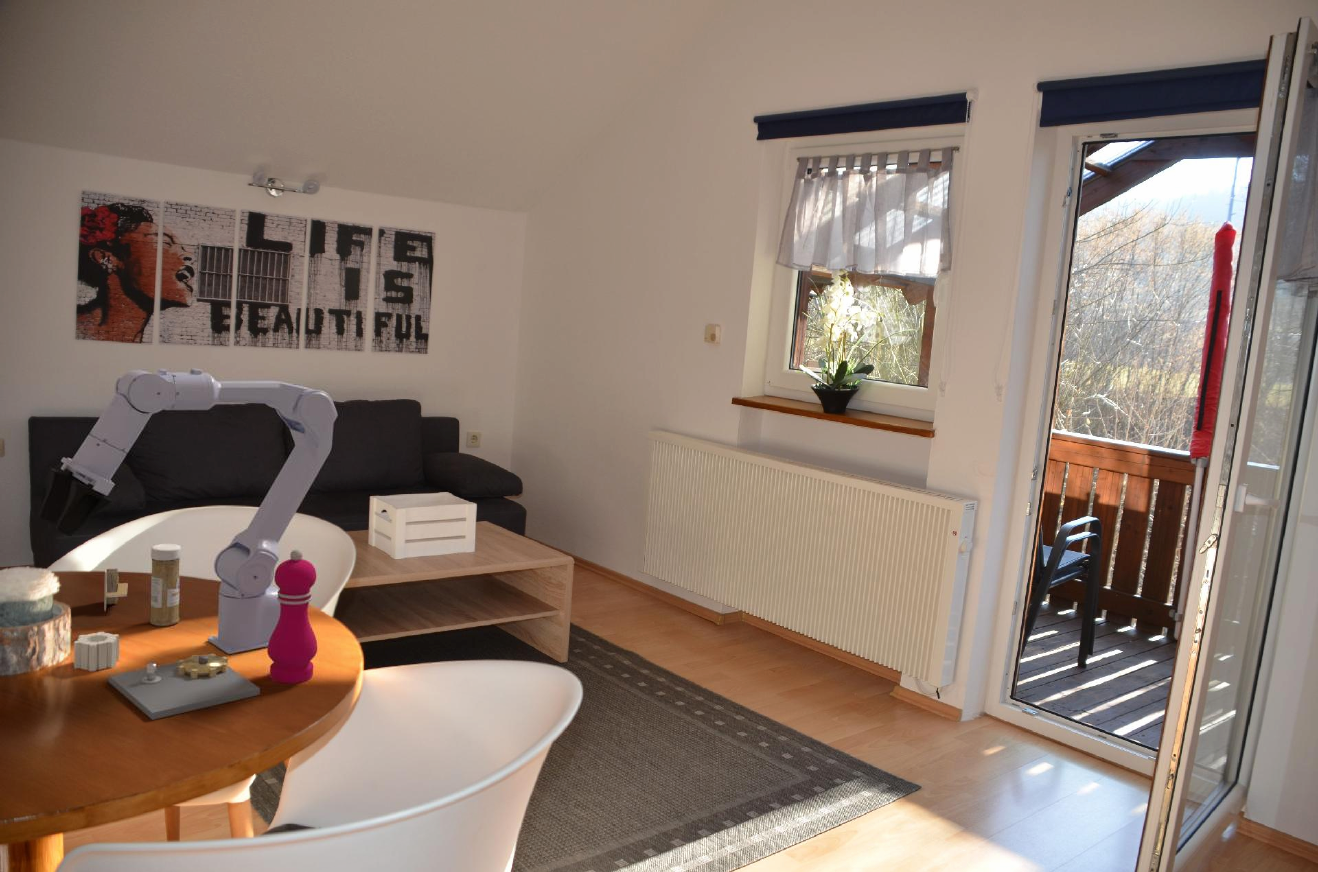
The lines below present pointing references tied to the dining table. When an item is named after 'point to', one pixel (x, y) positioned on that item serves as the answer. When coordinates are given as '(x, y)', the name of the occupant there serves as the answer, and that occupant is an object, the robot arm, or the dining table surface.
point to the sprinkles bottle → (165, 584)
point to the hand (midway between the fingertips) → (54, 526)
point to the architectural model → (113, 587)
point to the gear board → (183, 685)
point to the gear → (96, 651)
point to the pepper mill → (293, 622)
